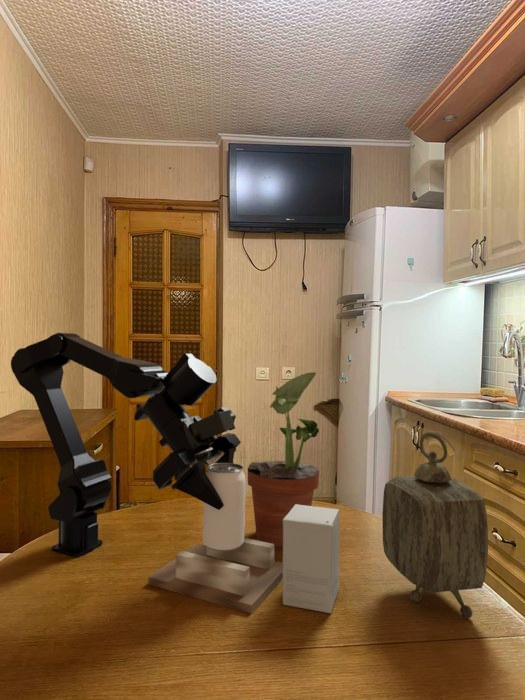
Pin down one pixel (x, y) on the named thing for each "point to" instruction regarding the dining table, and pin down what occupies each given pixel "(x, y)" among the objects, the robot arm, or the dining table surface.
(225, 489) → the can
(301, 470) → the potted plant
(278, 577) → the slot block
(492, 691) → the dining table surface
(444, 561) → the tabletop clock
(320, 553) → the supplement box
